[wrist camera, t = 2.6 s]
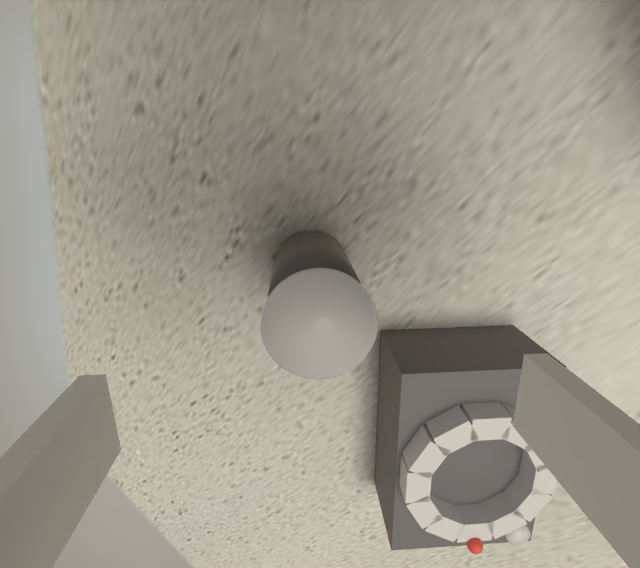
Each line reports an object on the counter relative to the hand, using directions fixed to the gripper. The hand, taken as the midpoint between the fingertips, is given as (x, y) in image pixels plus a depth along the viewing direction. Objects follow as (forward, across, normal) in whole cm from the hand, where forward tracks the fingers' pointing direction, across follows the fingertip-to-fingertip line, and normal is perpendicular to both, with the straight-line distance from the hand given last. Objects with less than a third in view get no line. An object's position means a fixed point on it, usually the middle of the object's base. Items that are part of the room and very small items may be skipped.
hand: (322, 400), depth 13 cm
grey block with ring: (+15, +10, -12) cm, 22 cm away
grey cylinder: (+15, 0, 0) cm, 15 cm away
